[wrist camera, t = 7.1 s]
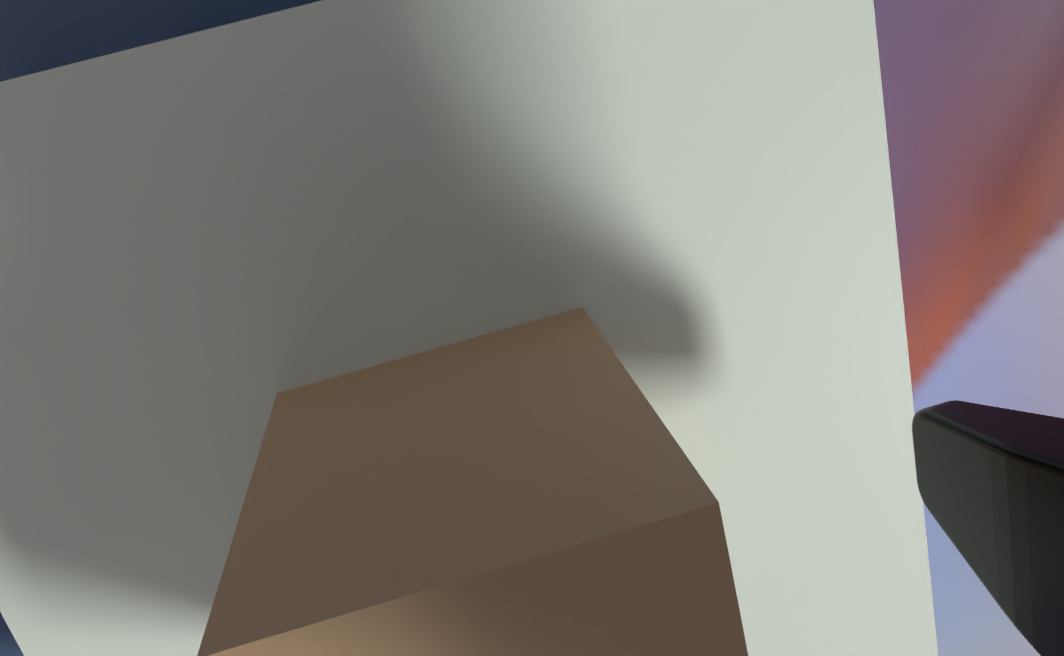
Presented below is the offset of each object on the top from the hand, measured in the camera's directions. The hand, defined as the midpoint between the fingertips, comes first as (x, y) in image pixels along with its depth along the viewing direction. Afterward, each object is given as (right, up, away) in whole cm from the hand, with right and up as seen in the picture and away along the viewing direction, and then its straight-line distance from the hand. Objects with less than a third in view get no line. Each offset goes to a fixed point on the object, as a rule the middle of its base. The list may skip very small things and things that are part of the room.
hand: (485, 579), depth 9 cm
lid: (0, +1, +3) cm, 3 cm away
